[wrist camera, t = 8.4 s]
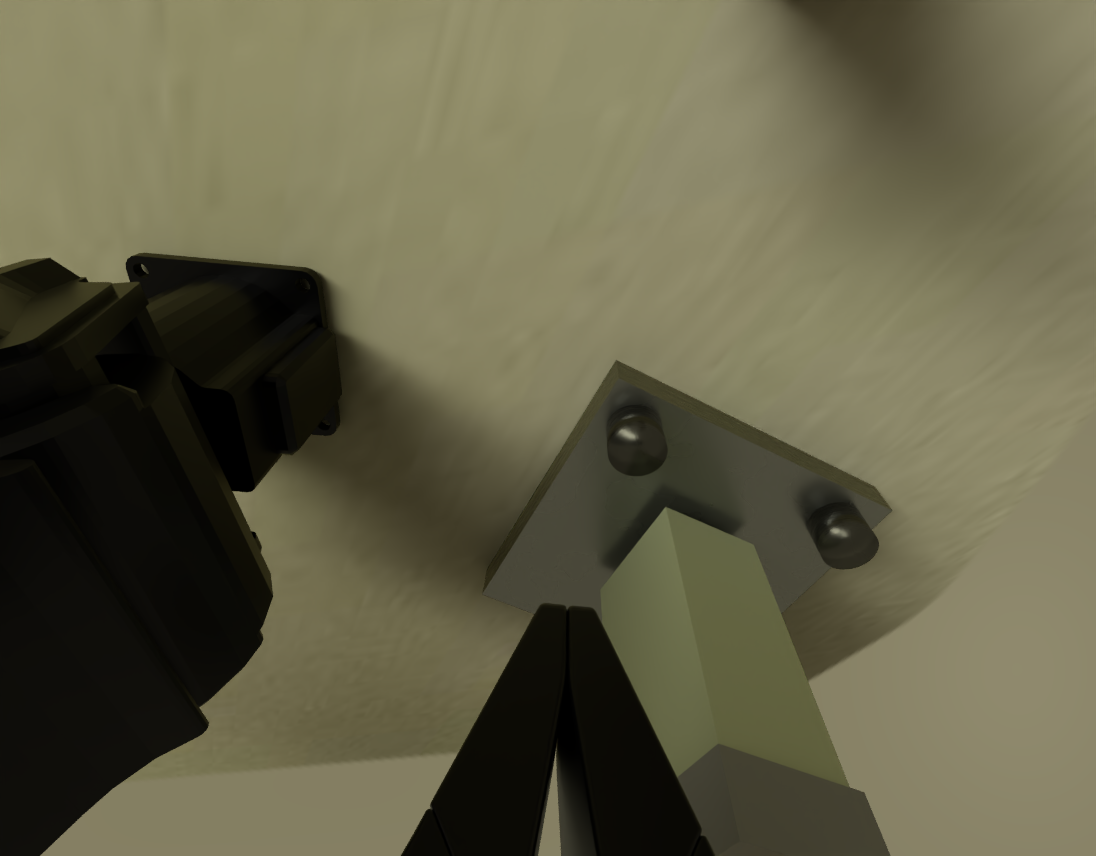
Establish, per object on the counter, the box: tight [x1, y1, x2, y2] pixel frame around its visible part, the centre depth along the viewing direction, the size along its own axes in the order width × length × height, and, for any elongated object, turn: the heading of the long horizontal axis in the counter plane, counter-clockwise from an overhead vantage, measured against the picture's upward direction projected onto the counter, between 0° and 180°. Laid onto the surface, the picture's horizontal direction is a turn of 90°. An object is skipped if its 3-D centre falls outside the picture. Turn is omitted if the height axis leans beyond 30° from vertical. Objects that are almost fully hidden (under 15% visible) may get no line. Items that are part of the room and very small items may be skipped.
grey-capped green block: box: [600, 507, 890, 856], centre depth 17 cm, size 4×5×12 cm
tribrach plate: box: [482, 360, 892, 622], centre depth 23 cm, size 12×12×3 cm
